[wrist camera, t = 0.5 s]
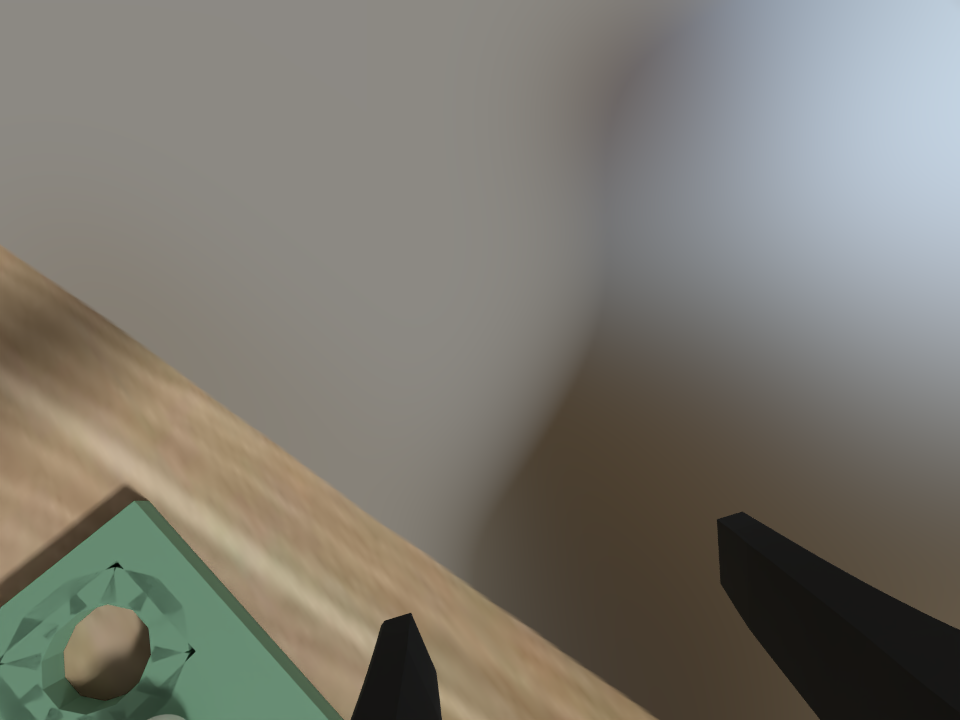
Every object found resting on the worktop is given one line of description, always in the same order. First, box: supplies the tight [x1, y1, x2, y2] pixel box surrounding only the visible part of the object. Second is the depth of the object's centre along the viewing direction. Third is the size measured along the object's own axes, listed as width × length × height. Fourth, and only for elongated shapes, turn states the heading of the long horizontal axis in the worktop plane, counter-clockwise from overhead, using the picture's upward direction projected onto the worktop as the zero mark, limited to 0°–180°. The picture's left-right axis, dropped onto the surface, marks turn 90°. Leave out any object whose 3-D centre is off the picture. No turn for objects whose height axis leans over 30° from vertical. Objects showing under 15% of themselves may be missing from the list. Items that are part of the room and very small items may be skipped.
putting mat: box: [0, 501, 343, 720], centre depth 28 cm, size 22×13×2 cm, turn 46°
